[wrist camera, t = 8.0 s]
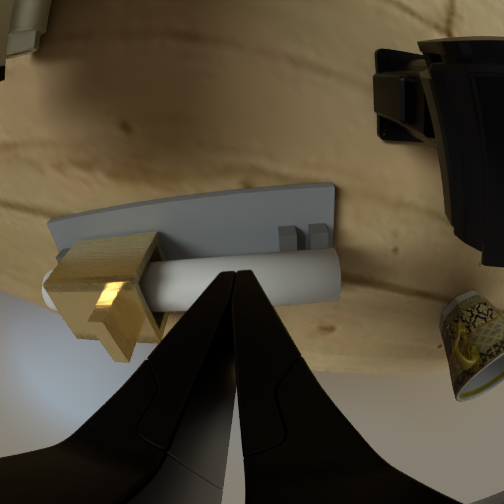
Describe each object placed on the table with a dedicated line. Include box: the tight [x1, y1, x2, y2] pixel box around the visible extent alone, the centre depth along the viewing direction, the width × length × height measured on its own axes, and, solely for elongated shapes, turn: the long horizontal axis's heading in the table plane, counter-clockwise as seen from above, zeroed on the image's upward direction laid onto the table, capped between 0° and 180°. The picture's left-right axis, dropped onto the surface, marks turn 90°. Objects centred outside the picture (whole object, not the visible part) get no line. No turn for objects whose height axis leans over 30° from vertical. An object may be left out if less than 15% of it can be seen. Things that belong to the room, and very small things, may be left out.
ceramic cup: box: [440, 290, 504, 402], centre depth 23 cm, size 13×10×10 cm
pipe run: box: [42, 182, 341, 312], centre depth 21 cm, size 24×10×6 cm, turn 96°
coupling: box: [43, 232, 170, 363], centre depth 19 cm, size 8×6×8 cm
